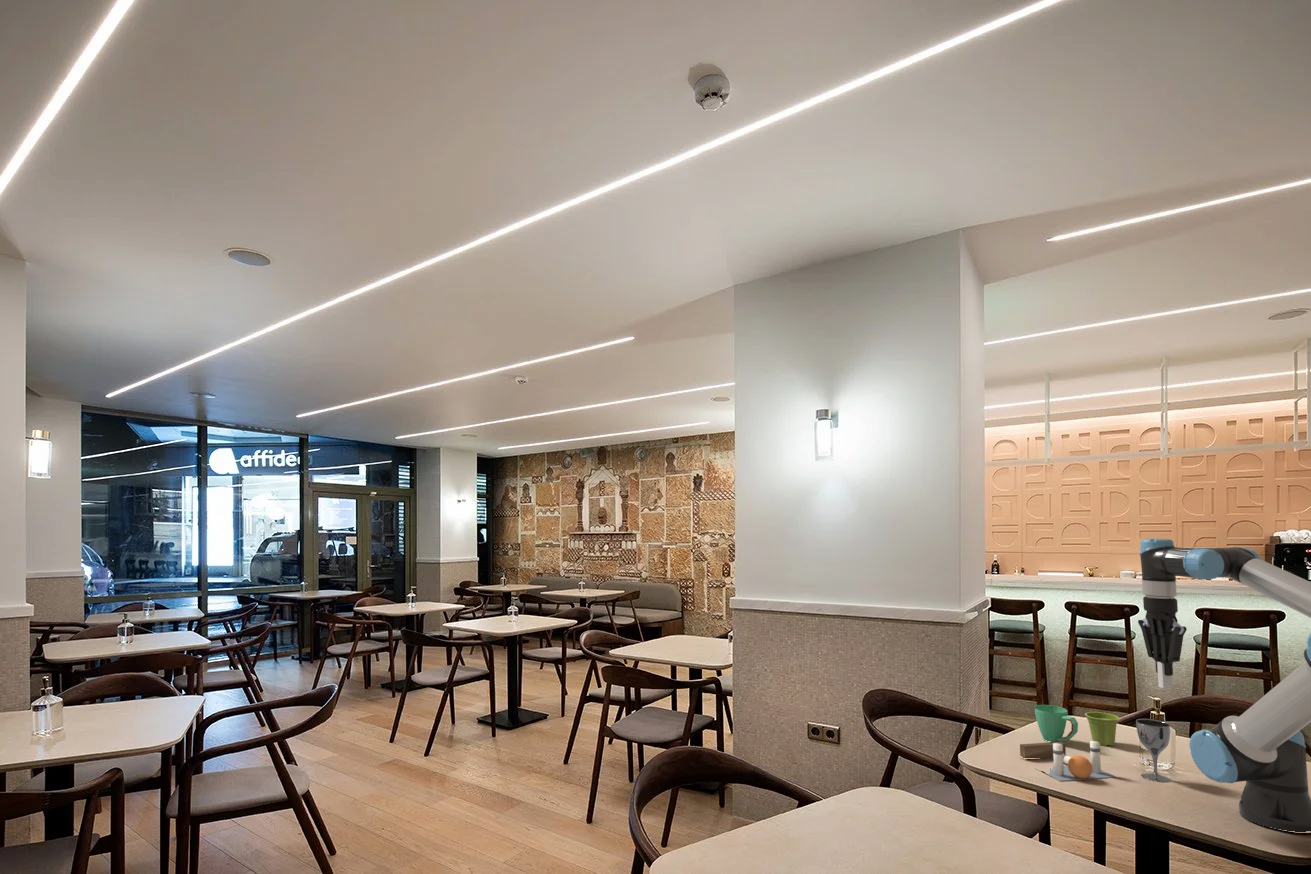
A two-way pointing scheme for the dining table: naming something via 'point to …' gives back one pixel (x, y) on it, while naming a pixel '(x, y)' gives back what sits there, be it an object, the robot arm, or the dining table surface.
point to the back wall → (1039, 750)
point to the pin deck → (1070, 777)
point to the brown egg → (1080, 767)
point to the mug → (1054, 722)
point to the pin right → (1095, 757)
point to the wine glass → (1154, 743)
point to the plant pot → (1102, 727)
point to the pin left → (1058, 759)
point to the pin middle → (1066, 758)
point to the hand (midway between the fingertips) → (1165, 687)
